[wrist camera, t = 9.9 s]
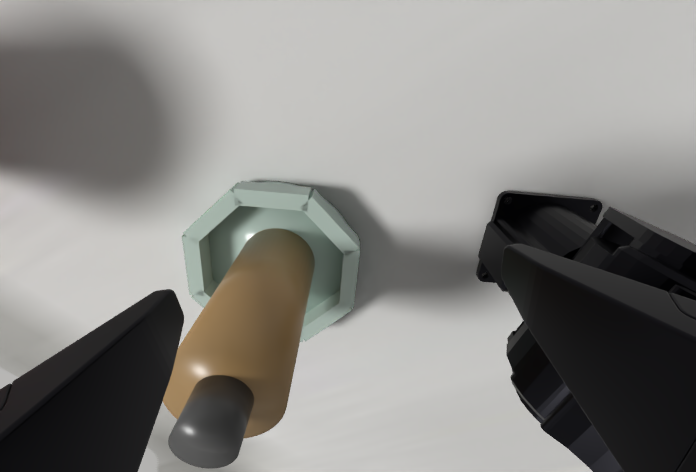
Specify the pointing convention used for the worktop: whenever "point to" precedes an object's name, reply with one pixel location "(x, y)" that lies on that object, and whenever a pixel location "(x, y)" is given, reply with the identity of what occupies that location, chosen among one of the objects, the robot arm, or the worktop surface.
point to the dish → (284, 213)
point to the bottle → (241, 351)
